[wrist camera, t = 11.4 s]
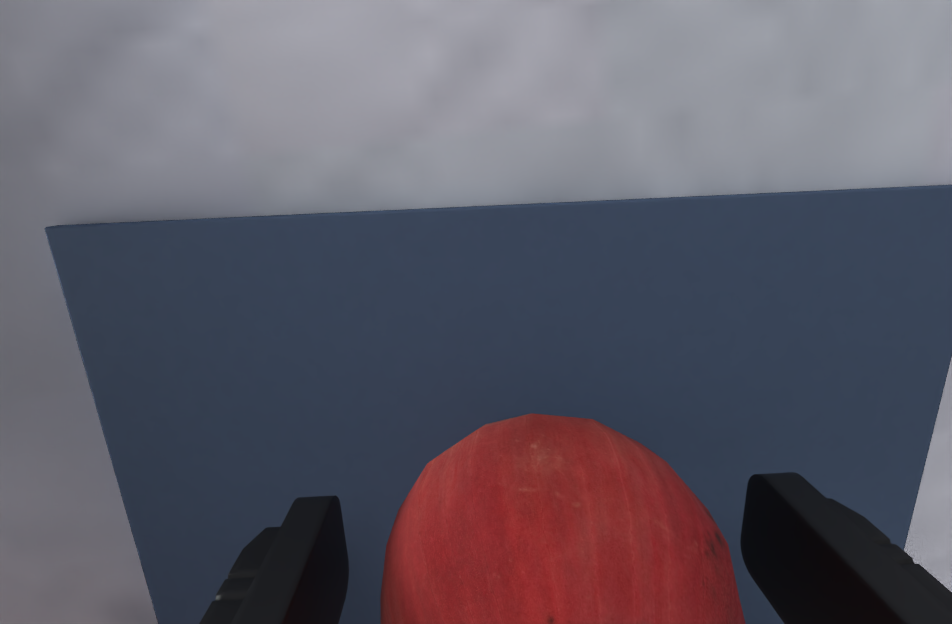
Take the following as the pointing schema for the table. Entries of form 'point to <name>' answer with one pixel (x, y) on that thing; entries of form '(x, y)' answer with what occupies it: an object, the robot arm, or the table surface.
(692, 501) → the pomegranate
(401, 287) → the placemat
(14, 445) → the table surface
